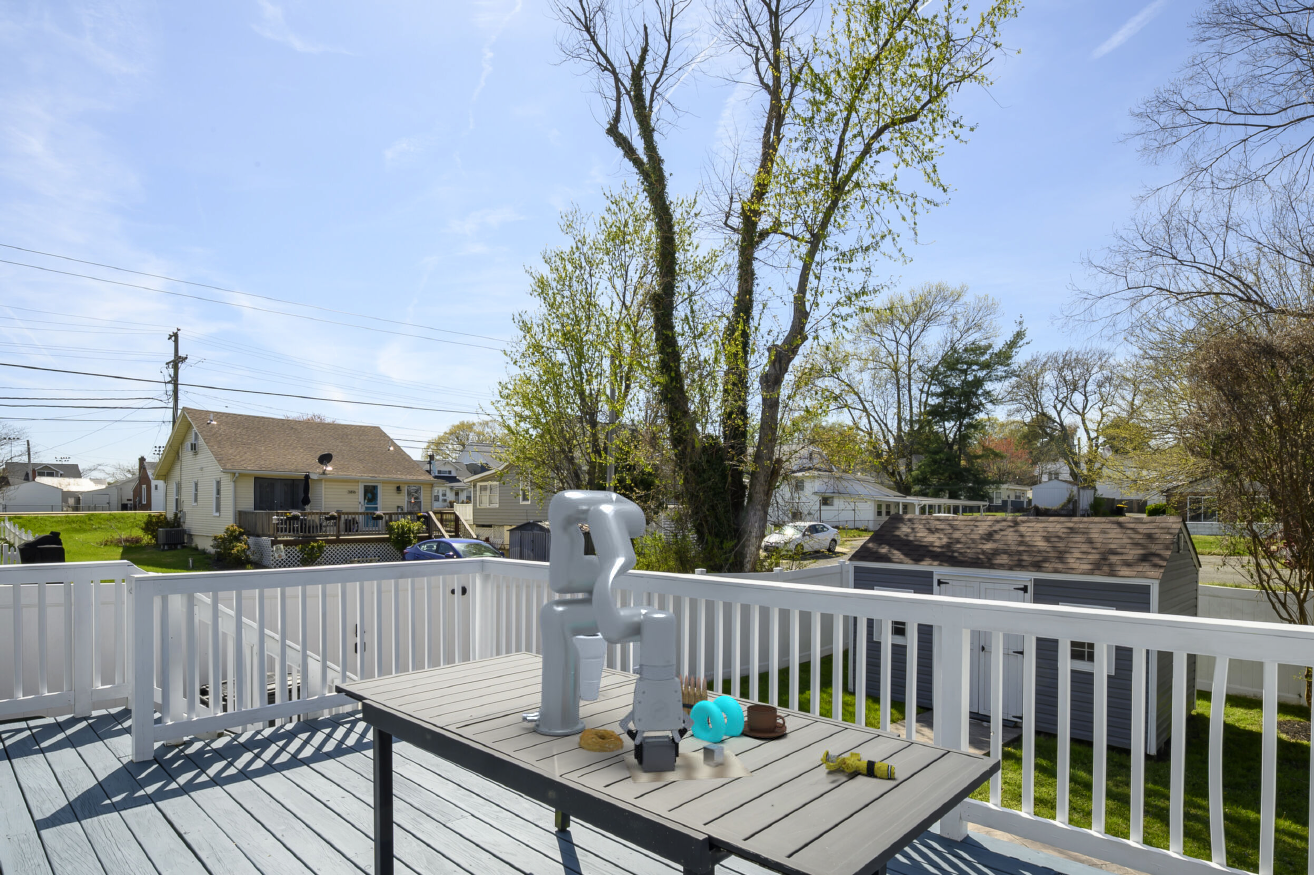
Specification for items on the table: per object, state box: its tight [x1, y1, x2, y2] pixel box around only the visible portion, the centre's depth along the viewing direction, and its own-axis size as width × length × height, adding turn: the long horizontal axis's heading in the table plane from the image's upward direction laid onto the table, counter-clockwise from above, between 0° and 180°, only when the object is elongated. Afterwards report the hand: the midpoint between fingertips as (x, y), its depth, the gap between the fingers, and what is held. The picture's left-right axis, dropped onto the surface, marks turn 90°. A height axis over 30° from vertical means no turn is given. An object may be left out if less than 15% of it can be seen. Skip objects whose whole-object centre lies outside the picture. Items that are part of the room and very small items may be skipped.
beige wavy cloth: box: [622, 750, 754, 784], centre depth 147 cm, size 24×16×2 cm, turn 100°
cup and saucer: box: [741, 704, 788, 739], centre depth 175 cm, size 12×12×6 cm
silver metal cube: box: [702, 742, 725, 767], centre depth 148 cm, size 3×3×4 cm
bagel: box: [578, 728, 625, 753], centre depth 160 cm, size 10×11×5 cm
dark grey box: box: [640, 734, 675, 772], centre depth 146 cm, size 6×6×5 cm
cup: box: [572, 632, 609, 702], centre depth 207 cm, size 11×11×18 cm
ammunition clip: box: [678, 674, 710, 726], centre depth 183 cm, size 11×2×12 cm, turn 60°
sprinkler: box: [820, 749, 896, 780], centre depth 149 cm, size 19×4×15 cm
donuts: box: [690, 695, 745, 744], centre depth 168 cm, size 10×10×10 cm
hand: (656, 760), depth 146 cm, fingers closed on dark grey box, 6 cm apart
